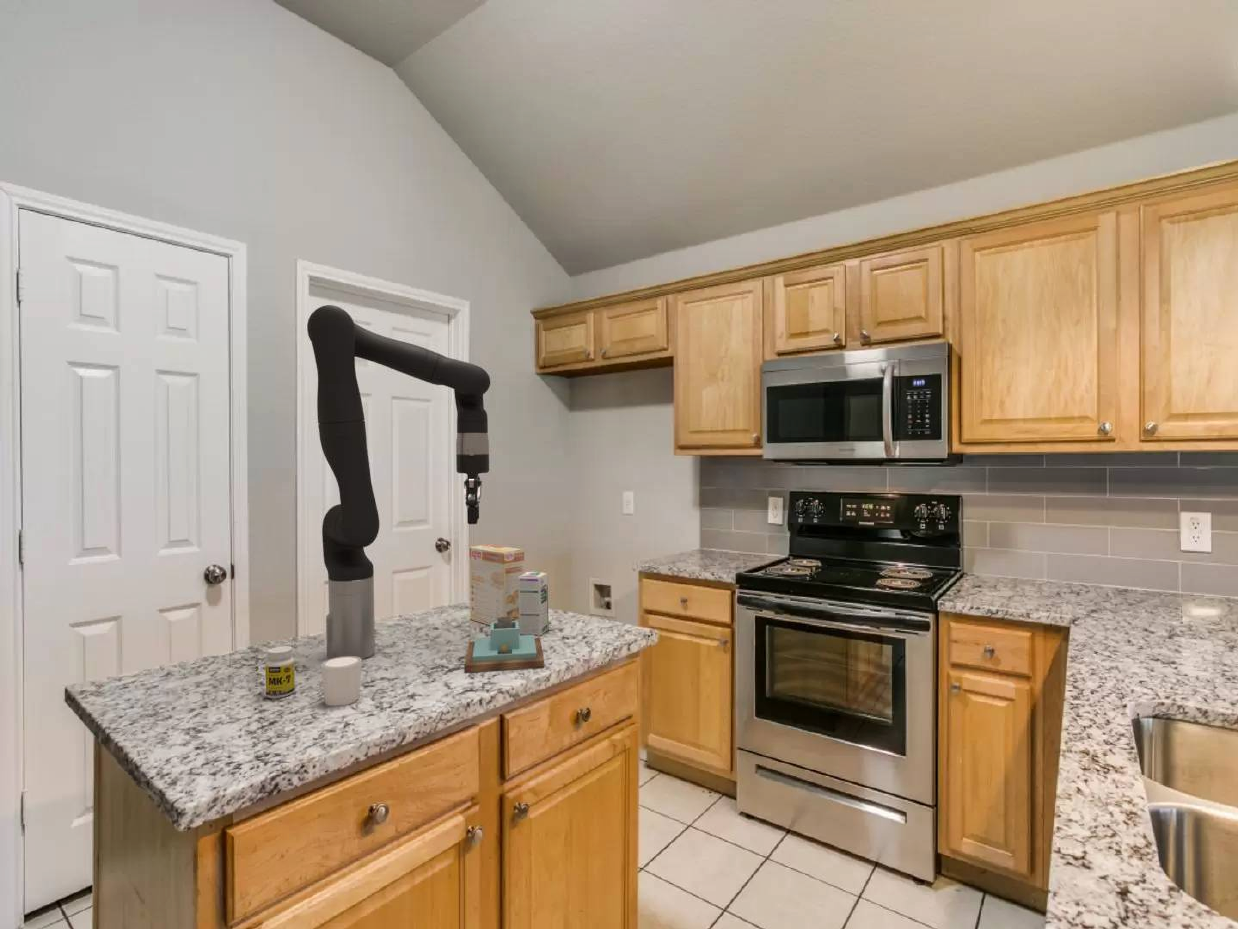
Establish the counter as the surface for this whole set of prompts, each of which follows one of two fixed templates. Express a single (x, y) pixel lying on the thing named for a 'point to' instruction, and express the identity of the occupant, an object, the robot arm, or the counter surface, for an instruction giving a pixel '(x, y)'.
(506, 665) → the post block
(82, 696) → the counter surface
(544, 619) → the syrup box
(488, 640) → the flange plate
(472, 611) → the coffeecake box
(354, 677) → the white short cylinder
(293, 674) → the supplement bottle
